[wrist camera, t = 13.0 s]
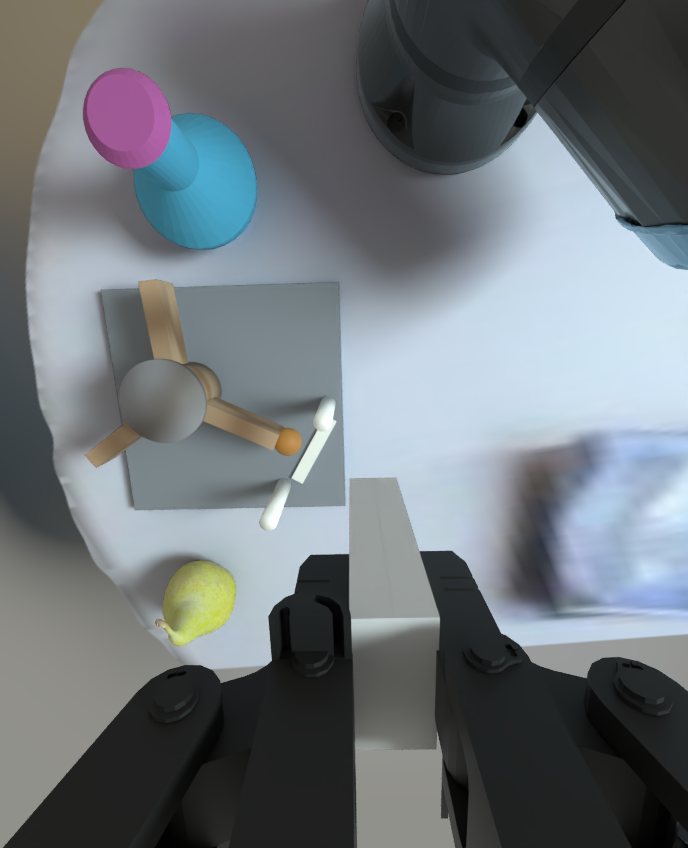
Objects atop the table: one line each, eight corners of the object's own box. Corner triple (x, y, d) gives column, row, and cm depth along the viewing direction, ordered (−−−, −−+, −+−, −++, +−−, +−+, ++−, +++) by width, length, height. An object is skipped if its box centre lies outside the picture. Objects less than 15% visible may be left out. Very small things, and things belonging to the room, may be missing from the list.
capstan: (115, 445, 39) (67, 469, 32) (169, 280, 36) (128, 269, 29) (273, 510, 40) (258, 545, 34) (339, 356, 37) (337, 362, 30)
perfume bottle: (180, 122, 34) (53, -31, 20) (283, 169, 35) (235, 55, 20) (148, 233, 36) (12, 168, 22) (247, 275, 37) (179, 240, 22)
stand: (107, 290, 37) (32, 278, 29) (338, 283, 37) (335, 269, 28) (139, 506, 42) (84, 552, 33) (345, 501, 42) (344, 547, 33)
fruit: (183, 605, 45) (124, 704, 33) (175, 542, 43) (110, 622, 31) (245, 605, 44) (207, 703, 33) (239, 542, 43) (198, 621, 31)
